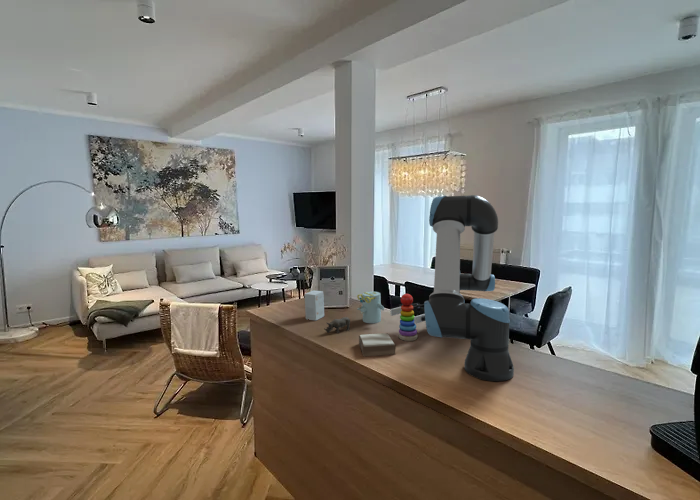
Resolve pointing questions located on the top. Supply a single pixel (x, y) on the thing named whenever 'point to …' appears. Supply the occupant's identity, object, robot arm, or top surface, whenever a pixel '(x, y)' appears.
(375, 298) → the character sculpture
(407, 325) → the stacking toy
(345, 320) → the rhino figurine
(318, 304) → the small box
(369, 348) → the pedestal
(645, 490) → the top surface
